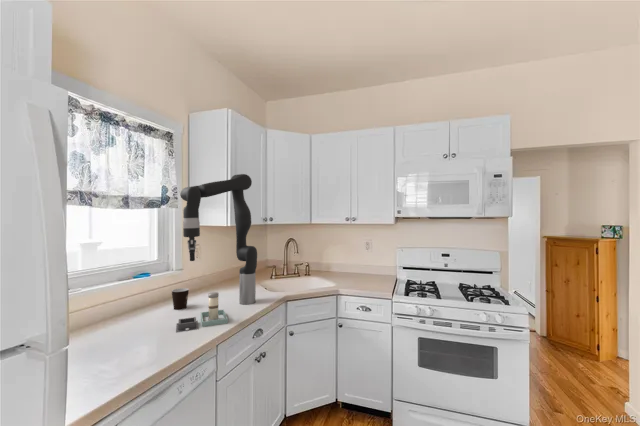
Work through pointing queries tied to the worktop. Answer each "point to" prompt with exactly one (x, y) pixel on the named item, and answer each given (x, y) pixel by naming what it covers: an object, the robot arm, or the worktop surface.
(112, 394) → the worktop surface
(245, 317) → the worktop surface
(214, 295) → the cylinder
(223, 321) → the parts tray
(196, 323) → the fuse holder
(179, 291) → the coffee mug
